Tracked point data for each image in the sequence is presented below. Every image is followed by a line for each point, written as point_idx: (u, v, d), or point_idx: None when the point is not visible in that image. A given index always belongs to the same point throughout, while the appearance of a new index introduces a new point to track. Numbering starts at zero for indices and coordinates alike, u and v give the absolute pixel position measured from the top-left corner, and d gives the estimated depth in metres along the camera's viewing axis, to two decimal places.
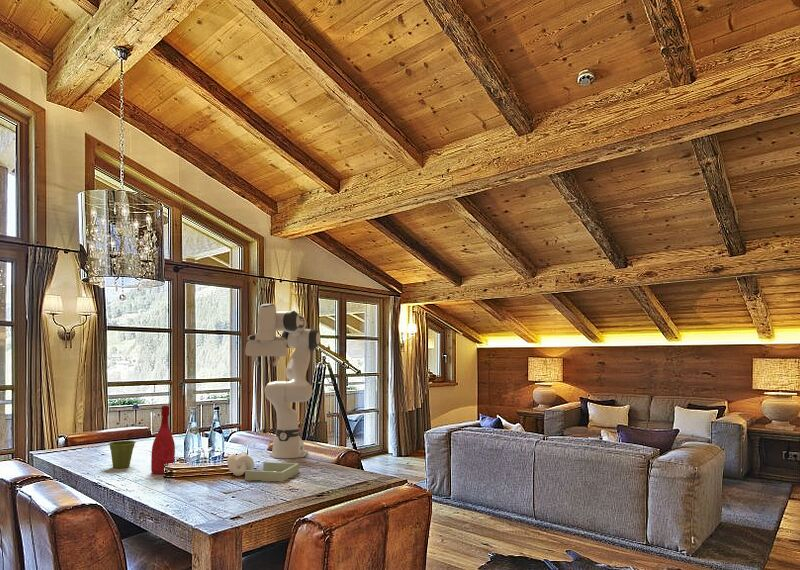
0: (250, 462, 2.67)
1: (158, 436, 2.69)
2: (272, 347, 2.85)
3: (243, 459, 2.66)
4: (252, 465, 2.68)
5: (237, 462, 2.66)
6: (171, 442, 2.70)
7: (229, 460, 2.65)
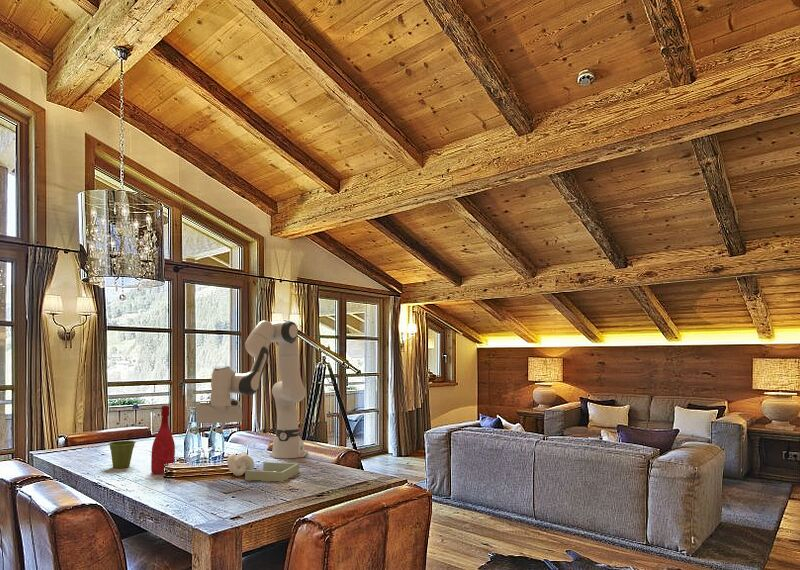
0: (250, 462, 2.67)
1: (158, 436, 2.69)
2: None
3: (243, 459, 2.66)
4: (252, 465, 2.68)
5: (237, 462, 2.66)
6: (171, 442, 2.70)
7: (229, 460, 2.65)
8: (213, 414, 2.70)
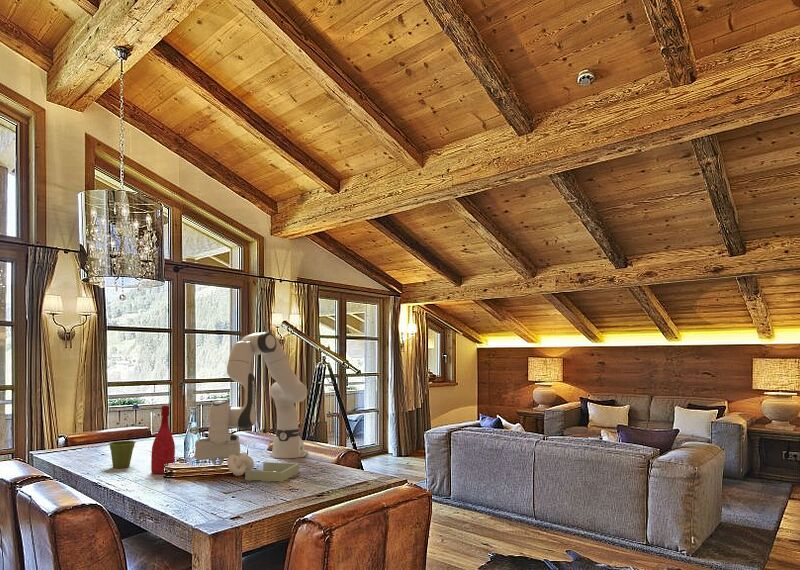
0: (250, 462, 2.67)
1: (158, 436, 2.69)
2: None
3: (243, 459, 2.66)
4: (252, 465, 2.68)
5: (237, 462, 2.66)
6: (171, 442, 2.70)
7: (229, 460, 2.65)
8: (213, 449, 2.68)
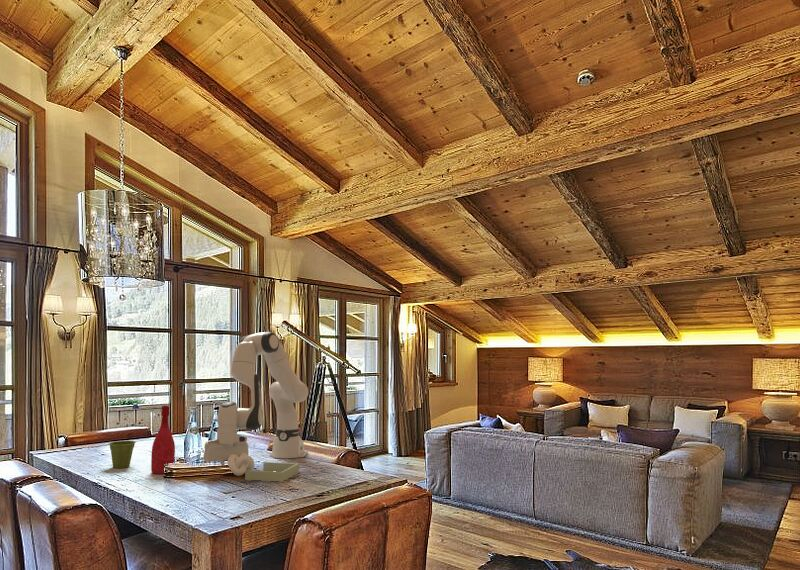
0: (250, 462, 2.67)
1: (158, 436, 2.69)
2: None
3: (243, 459, 2.65)
4: (252, 465, 2.68)
5: (237, 462, 2.66)
6: (171, 442, 2.70)
7: (229, 460, 2.65)
8: (222, 451, 2.67)
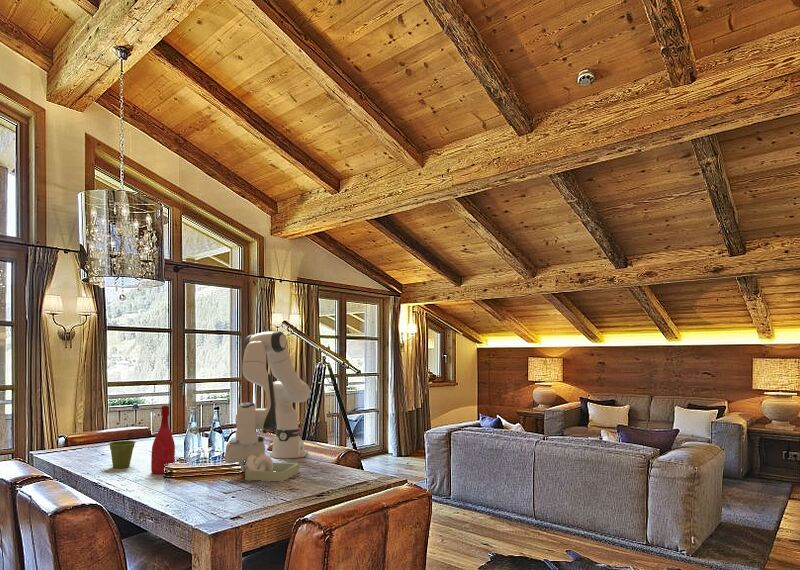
0: (269, 462, 2.66)
1: (158, 436, 2.69)
2: None
3: (262, 459, 2.64)
4: (271, 466, 2.67)
5: (256, 463, 2.64)
6: (171, 442, 2.70)
7: (248, 460, 2.63)
8: (242, 452, 2.65)
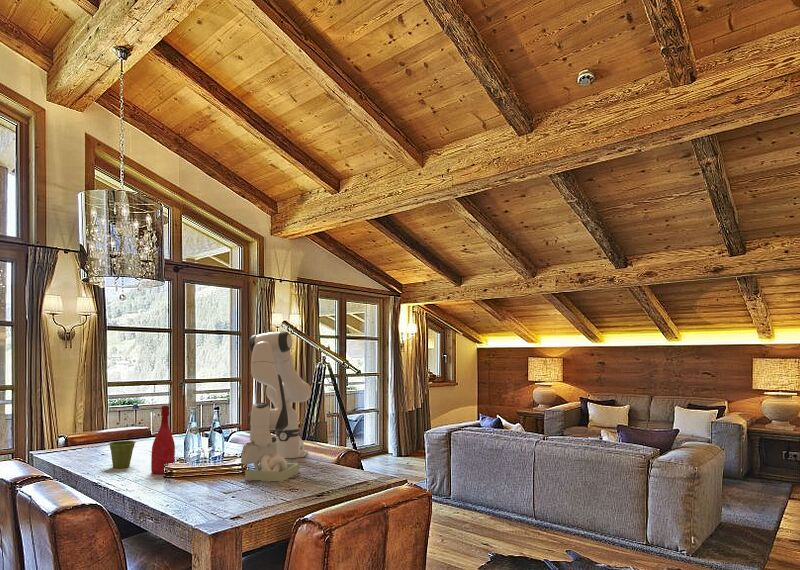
0: (283, 463, 2.65)
1: (158, 436, 2.69)
2: None
3: (276, 460, 2.63)
4: (285, 466, 2.66)
5: (270, 464, 2.64)
6: (171, 442, 2.70)
7: (262, 461, 2.63)
8: (258, 453, 2.64)
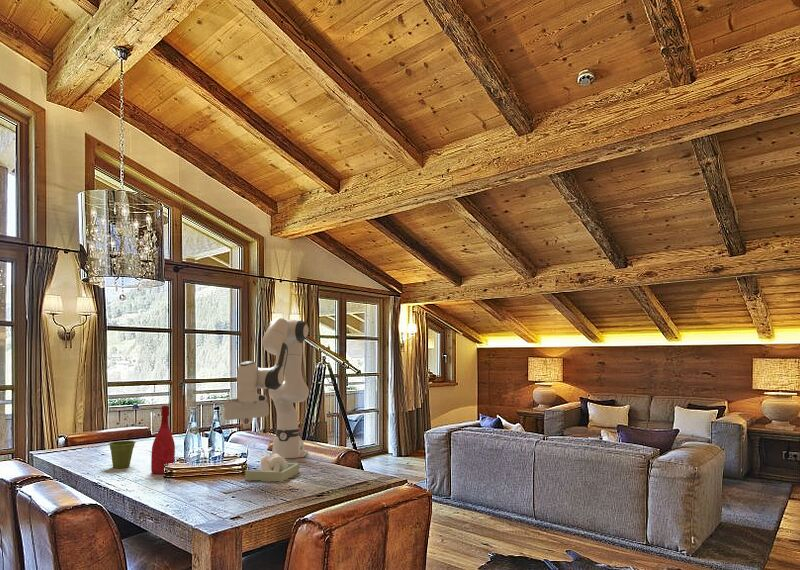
0: (283, 463, 2.65)
1: (158, 436, 2.69)
2: None
3: (277, 460, 2.63)
4: (285, 466, 2.66)
5: (270, 464, 2.64)
6: (171, 442, 2.70)
7: (263, 461, 2.63)
8: (242, 409, 2.67)
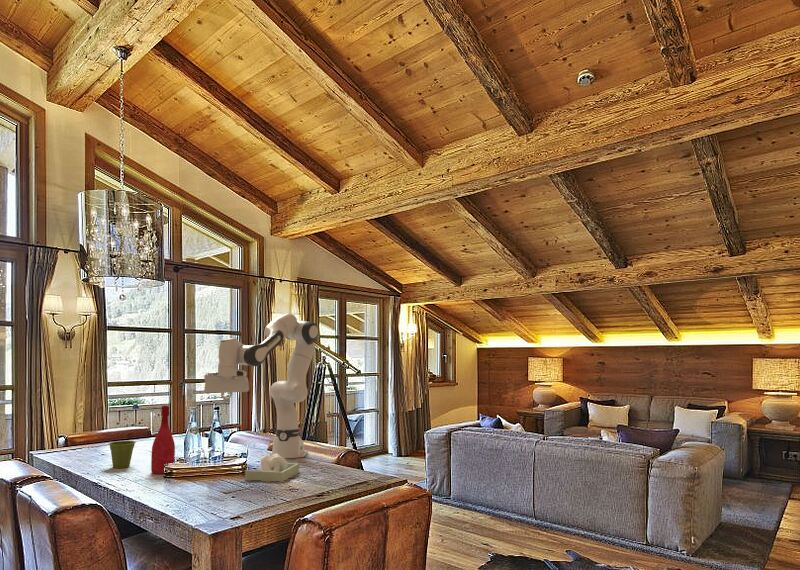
0: (283, 463, 2.65)
1: (158, 436, 2.69)
2: None
3: (277, 460, 2.63)
4: (285, 466, 2.66)
5: (270, 464, 2.64)
6: (171, 442, 2.70)
7: (263, 461, 2.63)
8: (220, 383, 2.79)
